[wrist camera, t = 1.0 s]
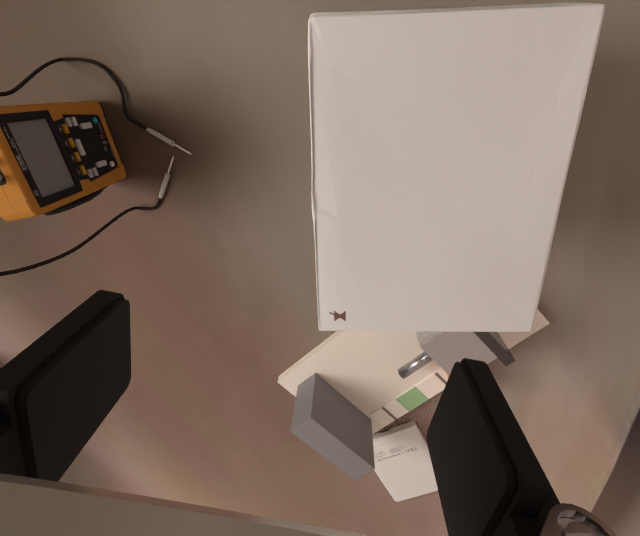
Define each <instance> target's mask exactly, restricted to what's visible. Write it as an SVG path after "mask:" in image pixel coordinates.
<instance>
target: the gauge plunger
mask: <svg viewBox="0 0 640 536" xmlns="http://www.w3.org/2000/svg"><path fill="white" fill-rule="evenodd" d="M416 334H417V338H418V342H419V345H420V348H421V349H422V350H423V351H424V352H423V353H421V354H420V355H418V356H417V357H415V358H414V359H412V360H411V361H409V362H408V363H407V364H405V365H404V366H402V367H401V368H399V369H398V370H397V371H398V373H399V375H400V376H401V378H403V379H405V378H407V377H408V376H410V375H411V374H413V373H414V372H416V371H417V370H419V369H420V368H422V367H423V366H425V365H426V364H428V363H429V362H431V361H432V360H434V361H435V362H436V363H437V364H438V365H439V366H440V367H441V368H442V369H443V370H444V371H445V372H446V373H447V374H448V375H449V376H450V373H451V371H452V368H453V366H454V364H455V363H456V362H461V360H462V359H463V358H468V359H473V360H479V361H484V362H486V364H489V363H490V362H492V361H493V360H495V359H497V358H499V359H500V360H501V361H502V362H503V364H504V365H505V366H508V365H509V364H511V363H513V362H514V361H515V359H514V358H513V356H512V354H511V353H510V351H509V349H508V348H507V346H506V345H505V343H504V341H503V340H502V338H501V336H500V335H499V333H498V332H416Z"/></svg>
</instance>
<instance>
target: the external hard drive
mask: <svg viewBox="0 0 640 536" xmlns="http://www.w3.org/2000/svg"><path fill="white" fill-rule="evenodd" d="M372 435H373V449H374V462H375V469H374V470H375V472H376V473H377V475H378V476H379V478H380V480H381V481H382V483H383V484H384V486H385V487H386V489H387V490H388V492H389V493H390V495H391V496H392V498H393V499H394V501H396V502H399V501H402V500H406V499H410V498H413V497H417V496H420V495H424V494H428V493H431V492H435V491H438V488H437V483H436V479H435V475H434V471H433V467H432V462H431V458H430V454H429V450H428V445H427V442H426V441H425V439H424V437H423V435H422V434H421V432H420V430H419V428H418V427H417V425H416V423H415V421H411V422H408V423H405V424H402V425H399V426H396V427H393V428H390V430H387V431H385V432H378V433H375V434H372Z"/></svg>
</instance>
